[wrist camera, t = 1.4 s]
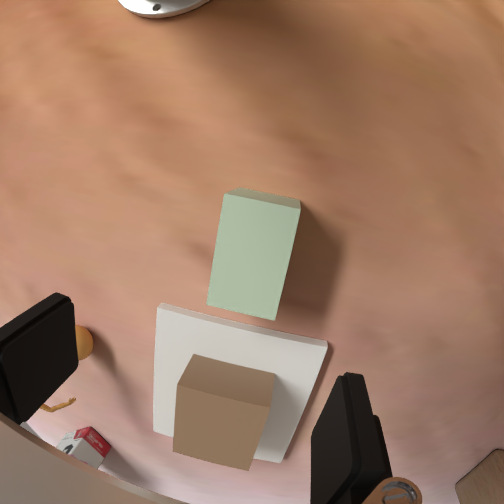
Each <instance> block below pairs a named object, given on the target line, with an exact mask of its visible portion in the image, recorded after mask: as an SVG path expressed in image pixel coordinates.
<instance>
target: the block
mask: <svg viewBox="0 0 504 504" xmlns="http://www.w3.org/2000/svg"><path fill="white" fill-rule="evenodd" d="M455 489H456V492H457V495H458V498H459V502H460V504H504V451H503V450H498V449H497V450H495V451H493V452H492V453H491V454H490V455H489V456H488V457H487V458H486V459H485V460H483V461H482V462H481V463H480V464H479V465H478V466H477V467H476V468H474V469H473V470H472V471H471V472H470V473H469V474H467V475H466V476H465V477H464V478H463V479H461V480H460V481H459V482H458V483H457V484H456V485H455Z"/></svg>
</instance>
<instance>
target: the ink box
mask: <svg viewBox="0 0 504 504" xmlns="http://www.w3.org/2000/svg"><path fill="white" fill-rule="evenodd" d="M56 448H57V449H59V450H61V451H63V452H64V453H66V454H68V455H70V456H72V457H74V458H76V459H78V460H80V461H82V462H84V463H86V464H88V465H90V466H92V467H94V468H96V469H98V468H99V466H100V465H101V463H102V461H103V460H104V458H105V457H106V455H107V453H108V452H109V450H110V449H111V446H110V445H109V444H108V443H107V442H106V441H105V440H104V439H103V438H102V437H101V436H100V435H99V434H98V433H97V432H96V431H95V430H94V429H93V428H92V427H87V428H83V429H80V430H77V431H73V432H70V433H66V435H65V436H64V437H63V439H62V440H61V441H60V443H59V444H58V445H57V446H56Z"/></svg>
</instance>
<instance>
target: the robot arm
mask: <svg viewBox="0 0 504 504" xmlns="http://www.w3.org/2000/svg"><path fill="white" fill-rule="evenodd" d="M118 1H119V3H120V4H121V5H122V6H123V7H124V8H126V9H127V10H129V11H130V12H131V13H133V14H136V15H138V16H142V17H147V18H164V17H171V16H175V15H179V14H182V13H186V12H188V11H191V10H193V9H195V8H198V7H200V6H201V5H203V4H205V3H207V2H208V1H210V0H118ZM78 363H79V360H78V351H77V341H76V330H75V315H74V304H73V303H72V302H71V299H70V298H69V297H68V296H65V295H63V294H60V293H54V294H52V295H50V296H49V297H47V298H45V299H44V300H42V301H41V302H39V303H38V304H36V305H34V306H33V307H31V308H30V309H28V310H27V311H25V312H23V313H22V314H20V315H19V316H17V317H16V318H14V319H13V320H11V321H10V322H8V323H7V324H5V325H4V326H2V327H1V328H0V504H189V503H185V502H182V501H179V500H175V499H172V498H169V497H166V496H163V495H160V494H157V493H155V492H152V491H149V490H146V489H144V488H141V487H138V486H136V485H133V484H131V483H128V482H126V481H123V480H121V479H118V478H116V477H114V476H111V475H109V474H107V473H105V472H102V471H100V470H98V469H96V468H94V467H92V466H90V465H88V464H86V463H84V462H82V461H80V460H78V459H76V458H74V457H72V456H70V455H68V454H66V453H64V452H63V451H61V450H59V449H57V448H55V447H54V446H52V445H50V444H48V443H47V442H45V441H43V440H42V439H40V438H38V437H37V436H35V435H33V434H32V433H30V432H29V431H27V430H26V429H24V428H22V427H21V426H19V425H20V424H21V423H22V422H26V421H27V420H29V419H30V417H31V416H32V415H33V414H34V413H35V412H36V411H37V410H38V409H39V408H40V407H41V406H42V405H43V404H44V403H45V401H46V400H47V399H48V398H49V397H50V396H51V395H52V394H53V393H54V392H55V391H56V390H57V389H58V388H59V387H60V386H61V385H62V384H63V383H64V382H65V381H66V380H67V378H68V377H69V376H70V375H71V374H72V373H73V372H74V371H75V370H76V369H77V367H78ZM310 504H422V495H421V492H420V490H419V488H418V487H417V486H416V485H415V484H414V483H413V482H411V481H409V480H407V479H405V478H400V477H393V476H392V471H391V466H390V462H389V457H388V453H387V448H386V444H385V440H384V436H383V431H382V427H381V423H380V420H379V417H378V416H377V415H373V412H372V408H371V404H370V400H369V396H368V392H367V388H366V384H365V380H364V377H363V375H361V374H355V373H349V372H346V373H345V374H344V375H343V376H340V375H339V376H338V377H337V379H336V382H335V384H334V386H333V388H332V391H331V393H330V395H329V397H328V400H327V402H326V404H325V406H324V408H323V410H322V413H321V415H320V417H319V419H318V421H317V423H316V425H315V427H314V429H313V432H312V436H311V499H310Z"/></svg>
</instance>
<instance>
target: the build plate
mask: <svg viewBox="0 0 504 504" xmlns="http://www.w3.org/2000/svg"><path fill="white" fill-rule="evenodd" d="M327 348H328V345H327V341H326V340H320V339H315V338H310V337H305V336H300V335H295V334H290V333H286V332H281V331H276V330H272V329H267V328H263V327H258V326H254V325H250V324H245V323H241V322H237V321H233V320H228V319H224V318H220V317H216V316H212V315H208V314H204V313H200V312H197V311H193V310H189V309H185V308H181V307H178V306H174V305H170V304H167V303H163V302H162V303H161V304H160V305H159V306H158V307H157V320H156V337H155V359H154V402H153V426H154V431H155V432H158V433H161V434H164V435H167V436H170V437H173V452H177V453H180V454H183V455H186V456H190V457H193V458H197V459H201V460H204V461H208V462H212V463H216V464H220V465H224V466H228V467H233V468H237V469H242V470H247V471H249V468H250V466H251V463H252V460H253V458H255V459H260V460H266V461H271V462H277V463H281V461H282V459H283V457H284V455H285V452H286V450H287V448H288V446H289V444H290V441H291V439H292V437H293V434H294V432H295V430H296V428H297V425H298V423H299V421H300V418H301V416H302V413H303V411H304V408H305V406H306V404H307V401H308V399H309V396H310V394H311V391H312V389H313V386H314V383H315V381H316V378H317V376H318V373H319V370H320V368H321V365H322V362H323V359H324V357H325V354H326V351H327Z"/></svg>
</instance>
